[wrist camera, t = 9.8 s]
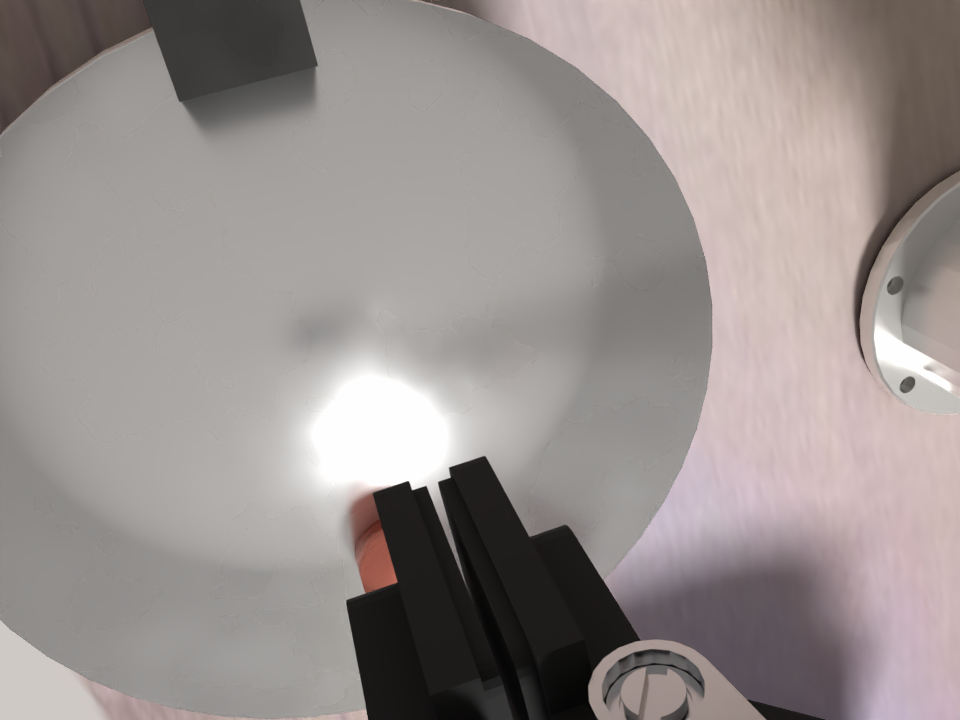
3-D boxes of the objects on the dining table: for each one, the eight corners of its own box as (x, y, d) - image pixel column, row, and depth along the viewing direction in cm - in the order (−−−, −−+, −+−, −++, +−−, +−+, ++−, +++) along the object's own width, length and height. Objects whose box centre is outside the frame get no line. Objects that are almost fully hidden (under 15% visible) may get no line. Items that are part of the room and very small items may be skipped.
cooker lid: (-454, -122, 16) (-549, -126, 14) (638, -338, 19) (694, -366, 17) (114, 780, 28) (109, 848, 26) (713, 553, 32) (750, 598, 30)
